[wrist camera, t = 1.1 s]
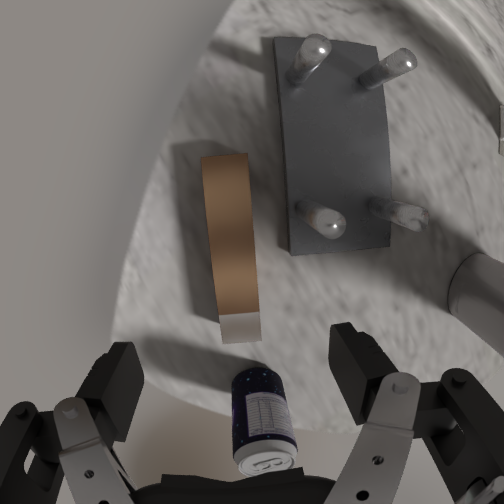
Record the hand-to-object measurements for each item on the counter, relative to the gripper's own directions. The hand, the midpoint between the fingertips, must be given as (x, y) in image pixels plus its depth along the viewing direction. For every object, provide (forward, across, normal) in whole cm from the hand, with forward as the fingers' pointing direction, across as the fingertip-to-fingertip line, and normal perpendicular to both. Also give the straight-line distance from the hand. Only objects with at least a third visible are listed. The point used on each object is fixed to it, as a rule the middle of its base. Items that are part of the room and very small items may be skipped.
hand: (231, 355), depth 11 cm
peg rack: (+16, -10, -9) cm, 21 cm away
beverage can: (+16, -1, +16) cm, 23 cm away
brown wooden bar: (+16, 0, 0) cm, 16 cm away
